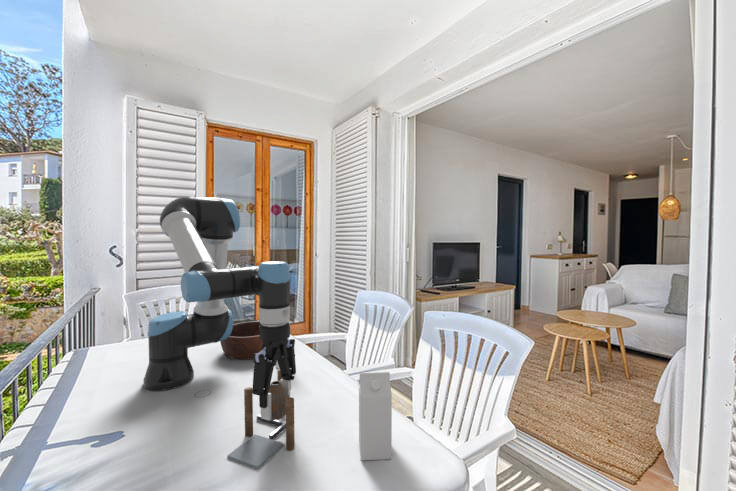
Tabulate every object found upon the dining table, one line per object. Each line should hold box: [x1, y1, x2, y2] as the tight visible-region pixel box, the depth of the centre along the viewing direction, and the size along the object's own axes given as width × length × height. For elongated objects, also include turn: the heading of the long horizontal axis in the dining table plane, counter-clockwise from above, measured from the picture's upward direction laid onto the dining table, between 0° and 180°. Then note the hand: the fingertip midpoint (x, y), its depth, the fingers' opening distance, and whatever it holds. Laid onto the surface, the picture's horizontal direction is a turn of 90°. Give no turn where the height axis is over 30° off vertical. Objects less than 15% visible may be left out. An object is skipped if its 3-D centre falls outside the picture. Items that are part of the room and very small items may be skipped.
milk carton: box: [358, 371, 393, 461], centre depth 81 cm, size 7×7×19 cm
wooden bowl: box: [219, 320, 263, 361], centre depth 148 cm, size 25×25×10 cm
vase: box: [269, 380, 289, 420], centre depth 87 cm, size 7×7×9 cm
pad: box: [226, 434, 284, 470], centre depth 81 cm, size 9×9×1 cm
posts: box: [243, 368, 296, 452], centre depth 91 cm, size 15×15×12 cm
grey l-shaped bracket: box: [256, 414, 286, 440], centre depth 90 cm, size 10×6×1 cm, turn 66°
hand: (276, 411), depth 87 cm, fingers closed on vase, 7 cm apart
